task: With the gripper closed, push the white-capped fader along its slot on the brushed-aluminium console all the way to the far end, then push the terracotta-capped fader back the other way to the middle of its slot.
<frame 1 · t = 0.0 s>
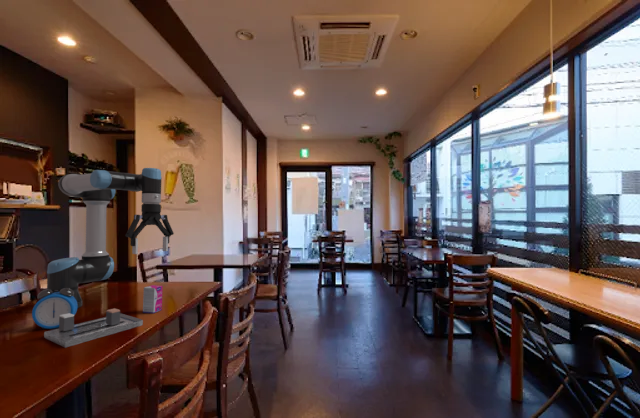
hand: (150, 252, 140), 28 cm above the table, fingers open, 13 cm apart
fader terracotta: (113, 316, 123), point 5 cm above the table, slide at 0.0 cm
alarm clock: (55, 327, 127), on the table
supplement box: (152, 312, 147), on the table
fader white: (66, 322, 117), point 5 cm above the table, slide at 0.0 cm
console: (96, 331, 122), on the table
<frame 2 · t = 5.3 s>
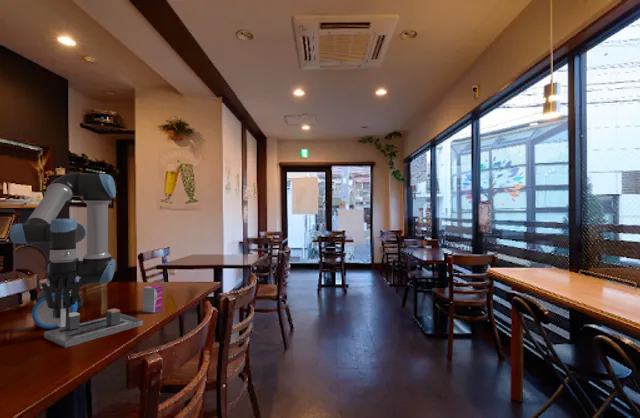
hand: (61, 326, 116), 4 cm above the table, fingers closed
fader white: (72, 320, 119), point 5 cm above the table, slide at 1.8 cm, touching gripper
everything else where it was.
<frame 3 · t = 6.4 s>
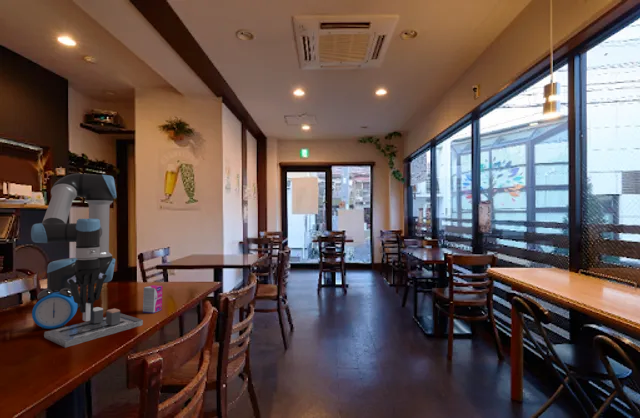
hand: (86, 320, 123), 4 cm above the table, fingers closed
fader white: (96, 315, 126), point 5 cm above the table, slide at 9.8 cm, touching gripper
everything else where it was.
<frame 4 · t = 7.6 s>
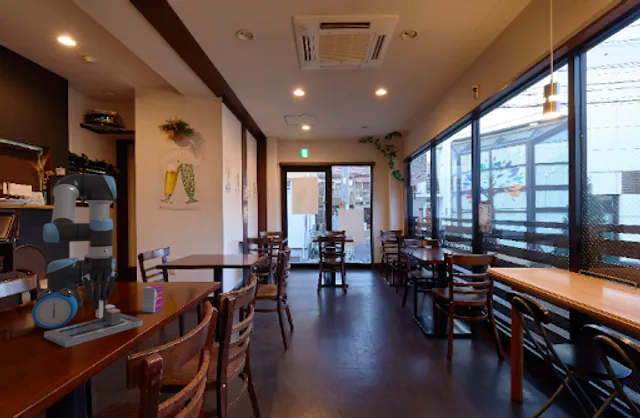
hand: (99, 316, 127), 4 cm above the table, fingers closed
fader white: (108, 312, 129), point 5 cm above the table, slide at 14.1 cm, touching gripper
everything else where it was.
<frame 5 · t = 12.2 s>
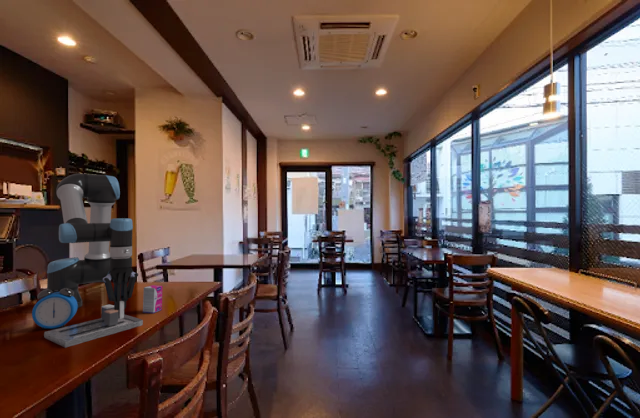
hand: (120, 317, 126), 4 cm above the table, fingers closed
fader terracotta: (111, 317, 123), point 5 cm above the table, slide at 0.7 cm, touching gripper
fader white: (108, 312, 129), point 5 cm above the table, slide at 14.0 cm
everything else where it was.
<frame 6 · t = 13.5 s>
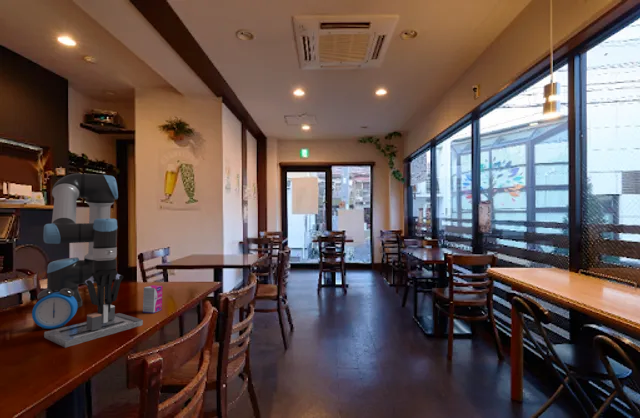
hand: (103, 321, 121), 4 cm above the table, fingers closed
fader terracotta: (94, 321, 118), point 5 cm above the table, slide at 6.5 cm, touching gripper
everything else where it was.
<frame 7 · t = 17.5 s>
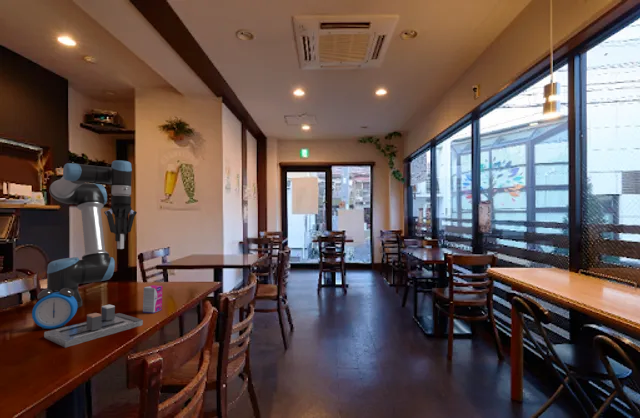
hand: (120, 248, 142), 29 cm above the table, fingers closed
fader terracotta: (94, 321, 118), point 5 cm above the table, slide at 6.6 cm
everything else where it was.
at the end: fader white slide at 14.0 cm; fader terracotta slide at 6.6 cm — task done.
